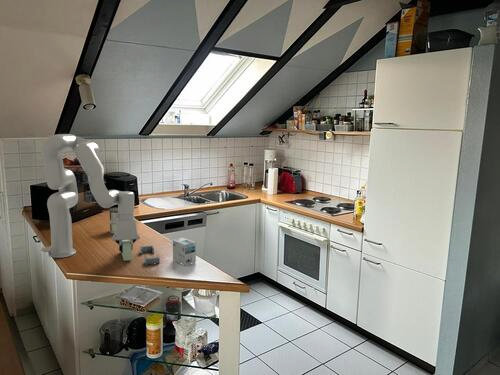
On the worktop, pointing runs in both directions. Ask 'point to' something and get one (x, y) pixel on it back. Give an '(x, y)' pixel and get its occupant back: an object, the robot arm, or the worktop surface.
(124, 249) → the slat
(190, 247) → the light bulb box
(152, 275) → the worktop surface
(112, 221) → the coffee can
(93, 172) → the robot arm
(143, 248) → the end caps
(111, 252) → the worktop surface
